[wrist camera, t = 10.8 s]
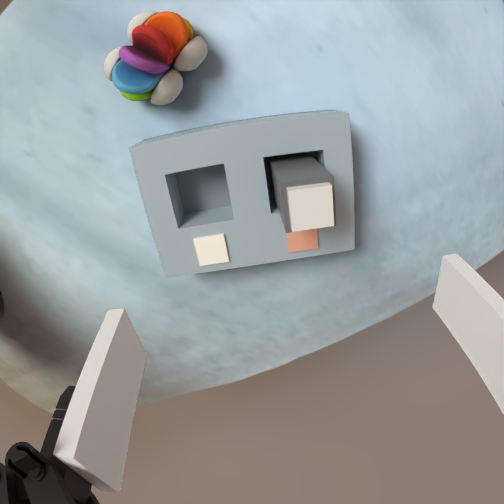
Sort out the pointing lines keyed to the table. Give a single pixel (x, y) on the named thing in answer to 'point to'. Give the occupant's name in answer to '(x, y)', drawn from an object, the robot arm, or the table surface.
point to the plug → (302, 192)
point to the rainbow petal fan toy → (155, 57)
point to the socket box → (240, 191)
